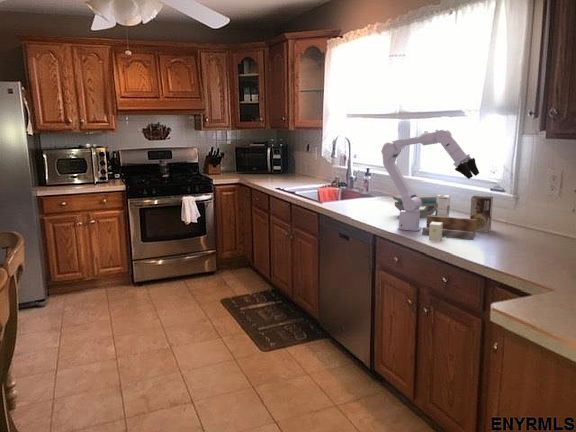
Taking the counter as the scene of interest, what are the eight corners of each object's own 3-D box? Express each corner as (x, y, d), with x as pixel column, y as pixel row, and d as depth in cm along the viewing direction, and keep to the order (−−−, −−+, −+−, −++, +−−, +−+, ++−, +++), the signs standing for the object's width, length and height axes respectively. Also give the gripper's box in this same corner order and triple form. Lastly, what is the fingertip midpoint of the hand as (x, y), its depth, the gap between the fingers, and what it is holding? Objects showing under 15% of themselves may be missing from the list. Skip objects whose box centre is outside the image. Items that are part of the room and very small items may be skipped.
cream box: (428, 239, 210) (429, 224, 208) (431, 236, 215) (432, 221, 214) (439, 240, 208) (440, 225, 206) (441, 237, 213) (442, 222, 212)
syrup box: (437, 221, 246) (438, 194, 243) (449, 222, 243) (450, 195, 240) (434, 223, 241) (436, 195, 238) (446, 225, 238) (448, 196, 235)
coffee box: (491, 229, 227) (493, 196, 224) (489, 232, 222) (491, 198, 219) (471, 227, 232) (473, 195, 229) (468, 230, 227) (471, 197, 223)
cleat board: (421, 234, 219) (422, 219, 217) (426, 229, 229) (427, 215, 227) (472, 239, 209) (473, 224, 207) (475, 234, 219) (476, 219, 217)
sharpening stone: (434, 213, 267) (435, 194, 264) (441, 216, 259) (442, 196, 257) (392, 215, 263) (393, 196, 261) (397, 218, 256) (398, 198, 254)
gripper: (455, 148, 204) (475, 173, 201) (468, 144, 214) (487, 167, 211) (443, 158, 209) (462, 183, 206) (456, 153, 219) (475, 177, 216)
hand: (474, 176), depth 209 cm, fingers open, 7 cm apart
